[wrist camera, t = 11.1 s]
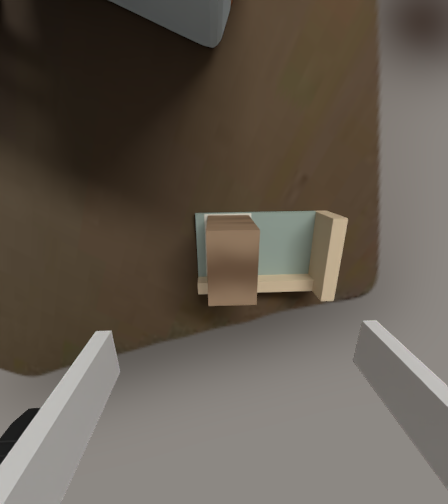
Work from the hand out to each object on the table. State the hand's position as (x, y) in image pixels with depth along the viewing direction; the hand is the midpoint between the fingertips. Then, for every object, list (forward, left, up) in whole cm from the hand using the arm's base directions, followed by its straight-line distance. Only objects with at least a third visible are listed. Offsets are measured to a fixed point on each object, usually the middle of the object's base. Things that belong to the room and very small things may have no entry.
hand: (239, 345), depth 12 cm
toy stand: (+5, -1, -19) cm, 19 cm away
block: (+1, 0, -18) cm, 18 cm away
